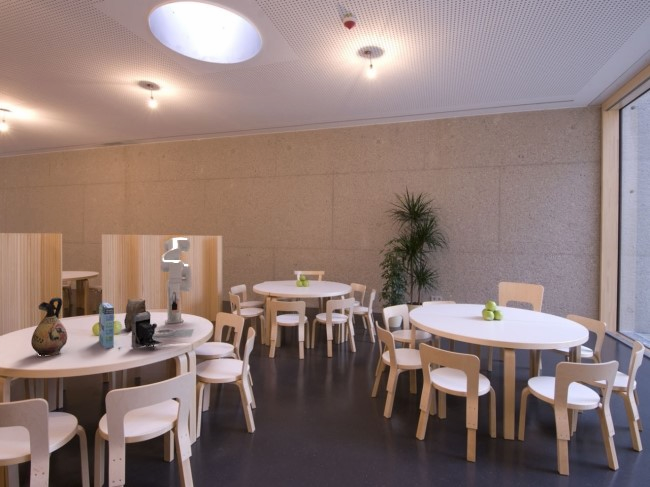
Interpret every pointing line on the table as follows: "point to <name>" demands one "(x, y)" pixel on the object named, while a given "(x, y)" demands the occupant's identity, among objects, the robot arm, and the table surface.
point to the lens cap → (177, 307)
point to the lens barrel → (164, 332)
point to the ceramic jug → (49, 330)
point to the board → (179, 334)
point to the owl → (133, 311)
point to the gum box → (106, 325)
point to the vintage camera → (143, 330)
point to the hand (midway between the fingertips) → (175, 308)
